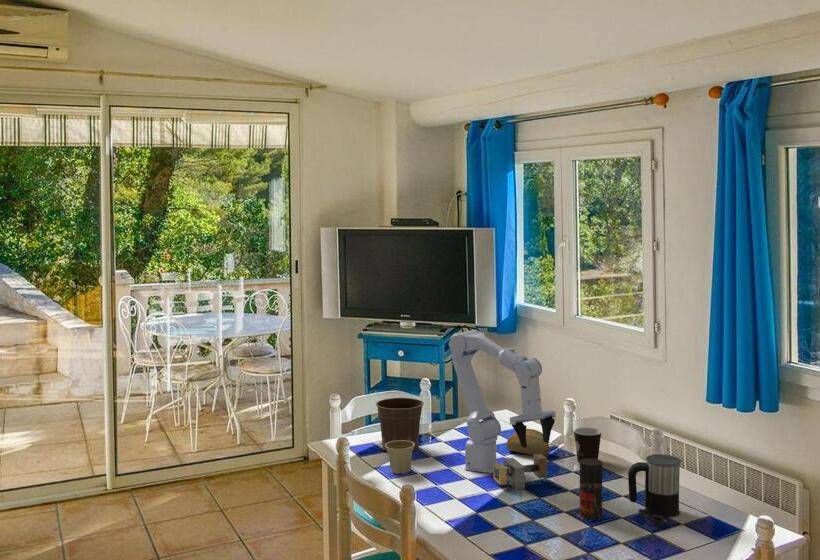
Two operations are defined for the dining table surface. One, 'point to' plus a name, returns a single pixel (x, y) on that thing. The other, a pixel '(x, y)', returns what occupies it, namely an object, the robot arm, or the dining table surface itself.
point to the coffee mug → (587, 443)
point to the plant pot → (400, 419)
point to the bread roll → (529, 443)
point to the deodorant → (591, 489)
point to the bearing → (515, 473)
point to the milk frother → (657, 487)
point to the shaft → (532, 467)
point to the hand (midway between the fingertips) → (535, 444)
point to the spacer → (500, 473)
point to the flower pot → (400, 455)
